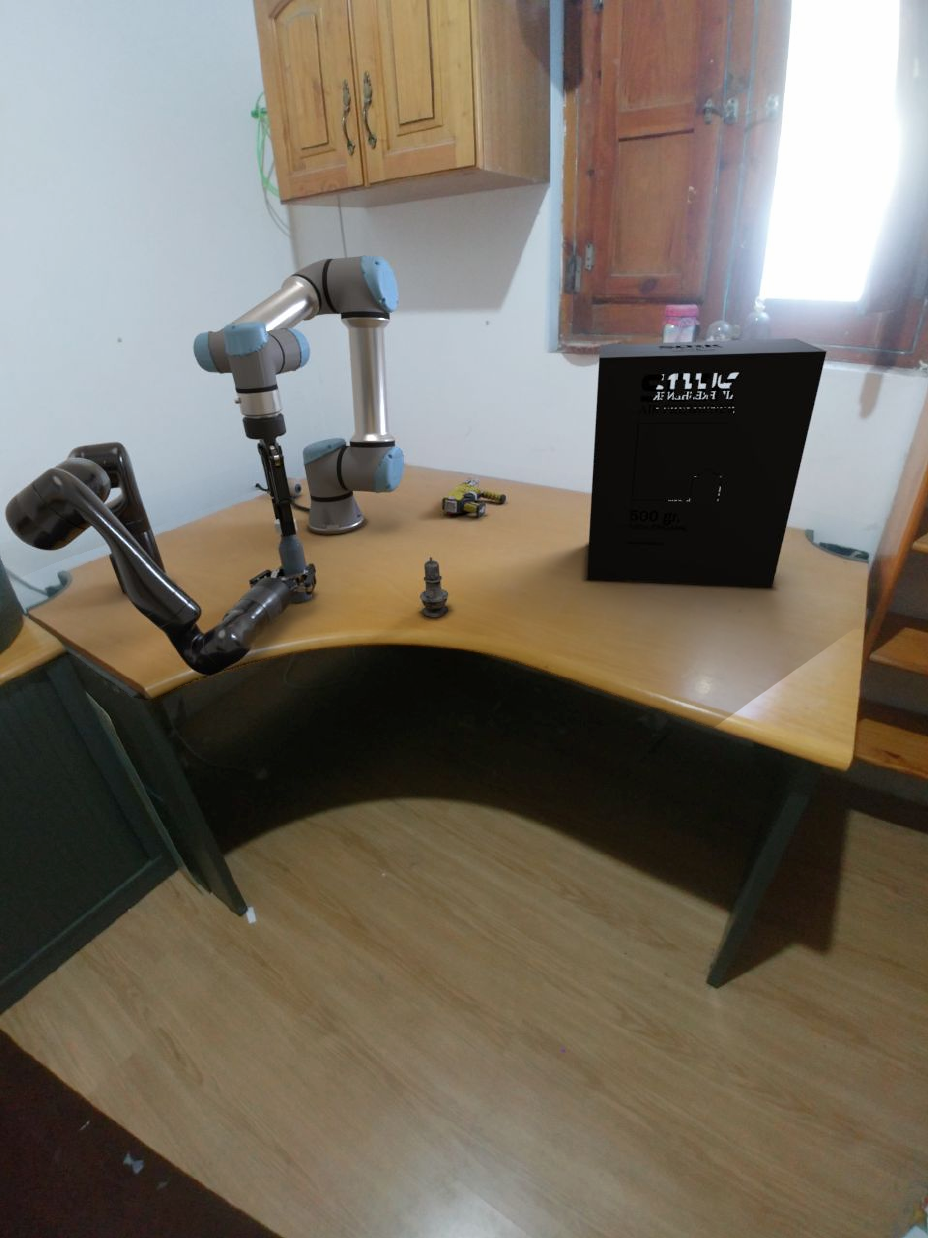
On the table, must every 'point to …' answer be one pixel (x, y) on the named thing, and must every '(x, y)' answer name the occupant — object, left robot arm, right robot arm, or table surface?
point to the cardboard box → (698, 459)
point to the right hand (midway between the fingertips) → (286, 530)
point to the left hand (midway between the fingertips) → (300, 566)
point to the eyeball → (294, 487)
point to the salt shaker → (433, 591)
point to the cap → (278, 528)
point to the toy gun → (468, 499)
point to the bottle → (293, 561)
